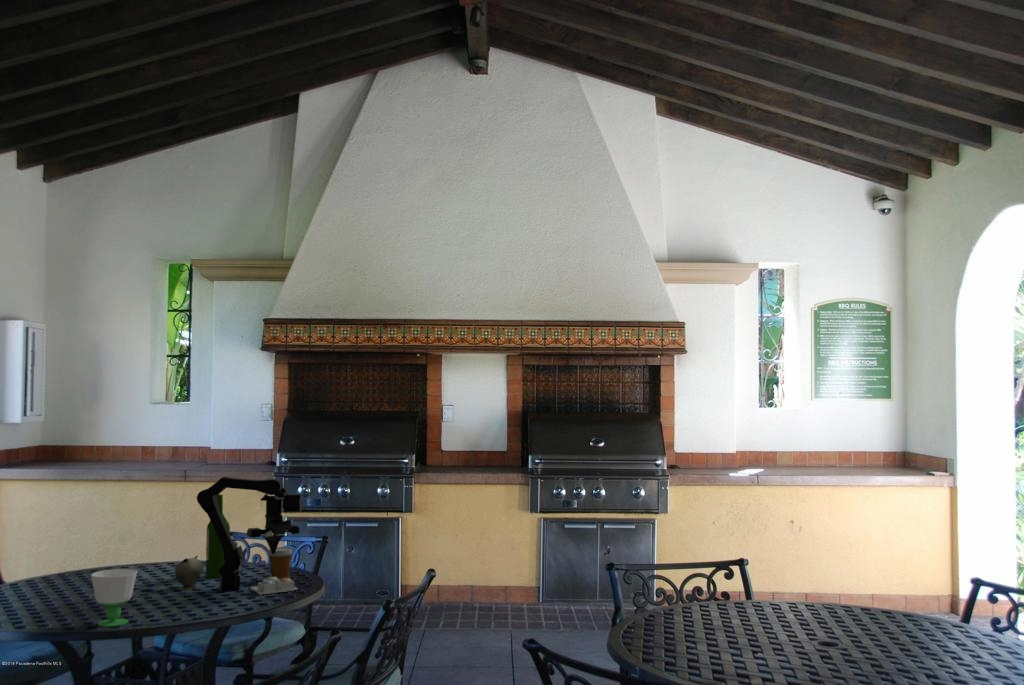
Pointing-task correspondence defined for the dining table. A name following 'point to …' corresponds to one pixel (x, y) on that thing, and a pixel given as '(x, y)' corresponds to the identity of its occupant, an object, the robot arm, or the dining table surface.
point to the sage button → (272, 578)
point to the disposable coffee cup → (280, 562)
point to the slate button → (267, 582)
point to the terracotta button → (285, 580)
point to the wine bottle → (214, 547)
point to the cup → (113, 592)
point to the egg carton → (274, 587)
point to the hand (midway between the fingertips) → (273, 554)
